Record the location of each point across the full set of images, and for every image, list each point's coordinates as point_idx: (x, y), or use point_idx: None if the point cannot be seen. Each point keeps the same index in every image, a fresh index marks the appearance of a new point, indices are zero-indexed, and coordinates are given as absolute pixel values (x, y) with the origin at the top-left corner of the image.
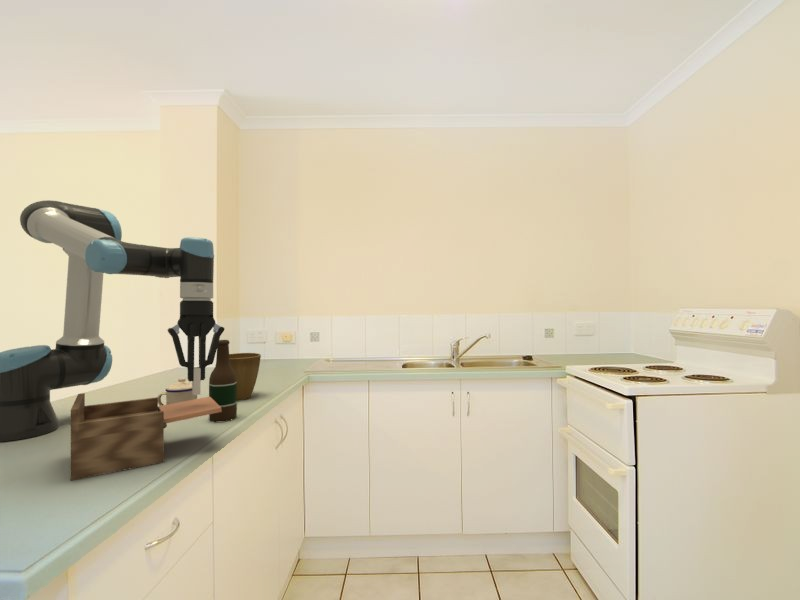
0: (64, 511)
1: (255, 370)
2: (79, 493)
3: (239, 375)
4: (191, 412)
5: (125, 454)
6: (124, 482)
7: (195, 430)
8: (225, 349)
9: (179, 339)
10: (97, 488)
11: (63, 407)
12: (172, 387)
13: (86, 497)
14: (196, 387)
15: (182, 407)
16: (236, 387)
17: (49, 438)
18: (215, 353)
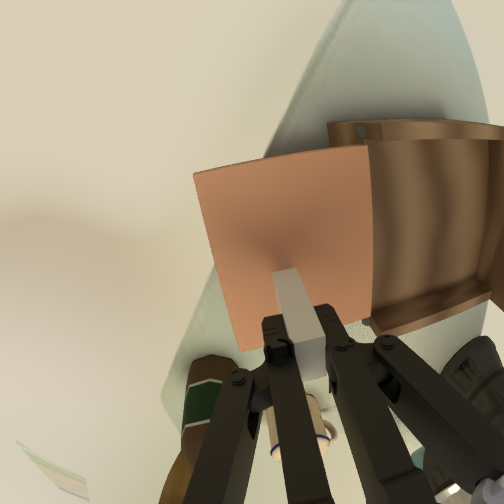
0: (420, 7)
1: (165, 487)
2: (424, 54)
3: None
4: (293, 173)
5: (403, 119)
6: (377, 55)
7: None
8: None
9: (475, 451)
10: (408, 57)
11: (412, 438)
12: (320, 444)
13: (412, 32)
14: (292, 284)
15: (319, 263)
16: (182, 425)
17: (454, 338)
18: (209, 426)
